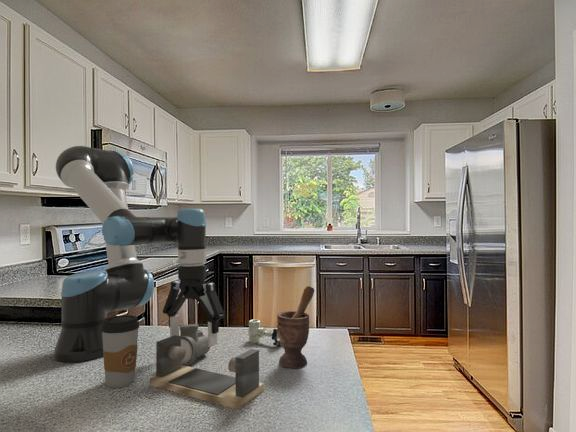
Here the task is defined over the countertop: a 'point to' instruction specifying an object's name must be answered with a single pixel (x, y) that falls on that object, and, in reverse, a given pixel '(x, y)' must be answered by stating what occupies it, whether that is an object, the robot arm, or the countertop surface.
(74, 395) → the countertop surface
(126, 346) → the coffee cup
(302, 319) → the mortar and pestle
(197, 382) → the shaft bed
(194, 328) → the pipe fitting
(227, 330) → the countertop surface
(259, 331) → the valve
